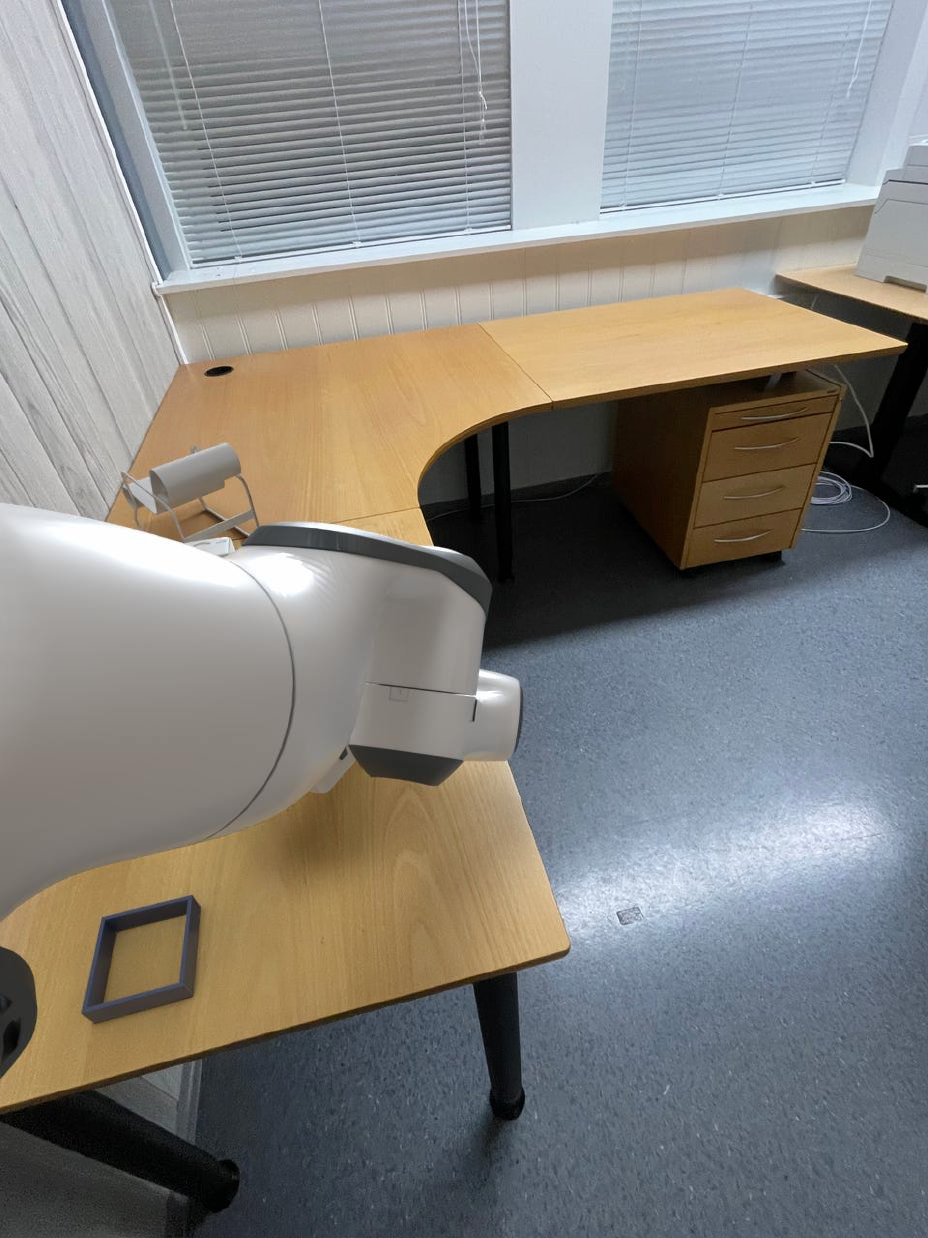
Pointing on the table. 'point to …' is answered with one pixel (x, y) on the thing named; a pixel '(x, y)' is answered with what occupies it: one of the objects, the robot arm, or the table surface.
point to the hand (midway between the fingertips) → (218, 682)
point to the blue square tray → (103, 952)
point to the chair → (189, 487)
